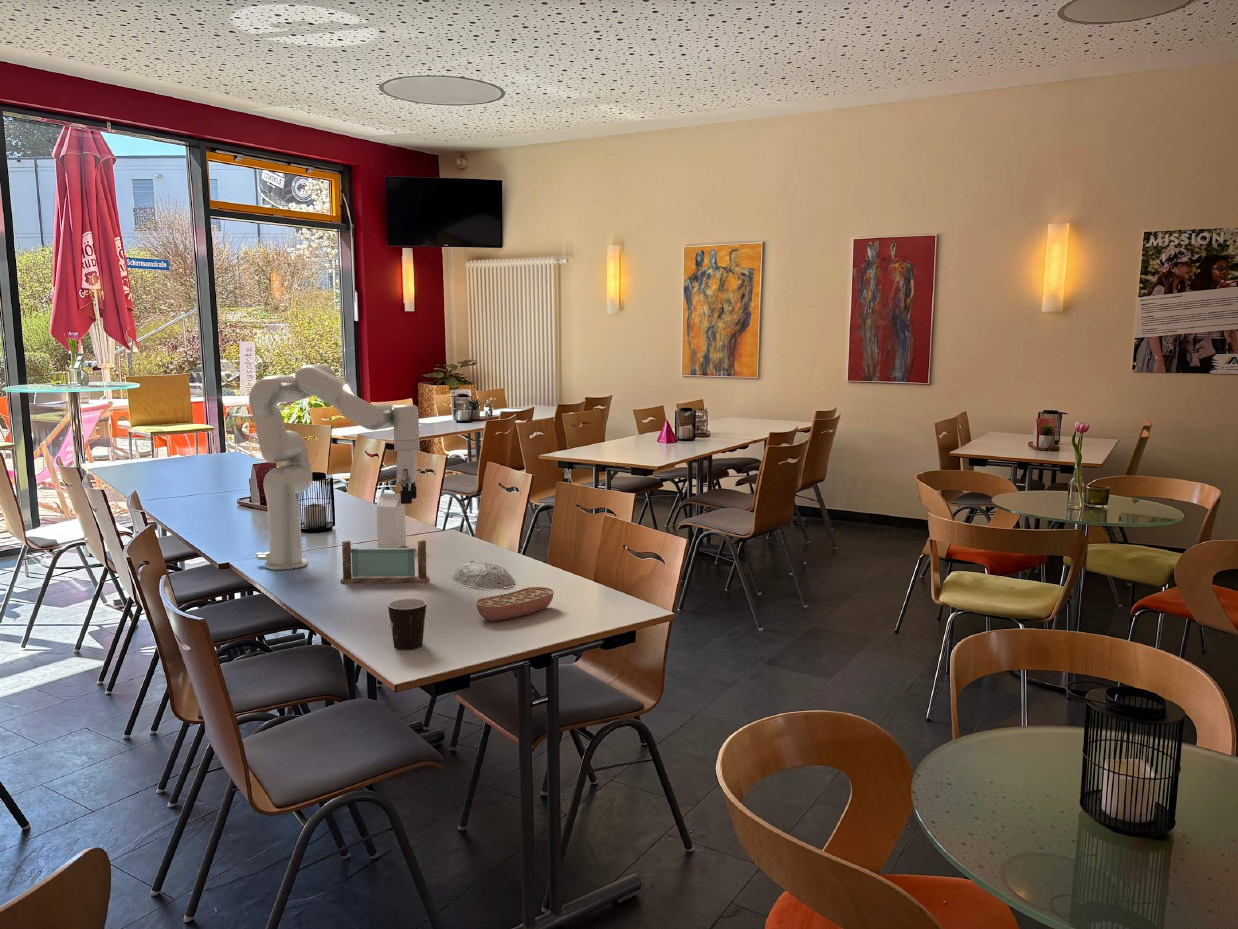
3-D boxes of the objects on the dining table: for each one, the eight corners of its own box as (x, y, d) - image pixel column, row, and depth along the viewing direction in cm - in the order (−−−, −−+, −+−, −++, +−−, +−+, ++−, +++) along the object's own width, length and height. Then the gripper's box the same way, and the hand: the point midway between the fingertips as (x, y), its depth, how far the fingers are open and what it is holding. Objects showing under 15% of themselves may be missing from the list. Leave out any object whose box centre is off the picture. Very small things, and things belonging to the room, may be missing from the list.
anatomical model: (538, 602, 237) (538, 585, 237) (562, 610, 230) (562, 592, 230) (469, 620, 221) (469, 601, 220) (492, 629, 214) (492, 609, 213)
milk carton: (396, 549, 298) (395, 495, 296) (377, 548, 300) (376, 494, 297) (405, 545, 305) (404, 492, 303) (387, 544, 307) (385, 491, 304)
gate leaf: (350, 577, 256) (349, 549, 255) (352, 575, 257) (351, 548, 256) (415, 576, 257) (414, 548, 256) (416, 575, 259) (415, 547, 258)
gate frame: (340, 583, 255) (339, 543, 253) (344, 579, 259) (342, 540, 257) (426, 582, 256) (425, 542, 255) (428, 579, 260) (427, 539, 259)
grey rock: (488, 592, 245) (489, 568, 245) (437, 580, 262) (438, 558, 262) (530, 588, 256) (530, 565, 256) (478, 577, 274) (479, 555, 273)
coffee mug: (396, 639, 205) (395, 598, 204) (432, 640, 205) (431, 599, 203) (378, 655, 194) (377, 612, 193) (416, 657, 193) (415, 613, 192)
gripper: (399, 442, 271) (401, 496, 274) (389, 448, 254) (391, 506, 256) (423, 442, 272) (425, 496, 274) (415, 448, 255) (417, 505, 257)
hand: (408, 501), depth 265 cm, fingers open, 9 cm apart
